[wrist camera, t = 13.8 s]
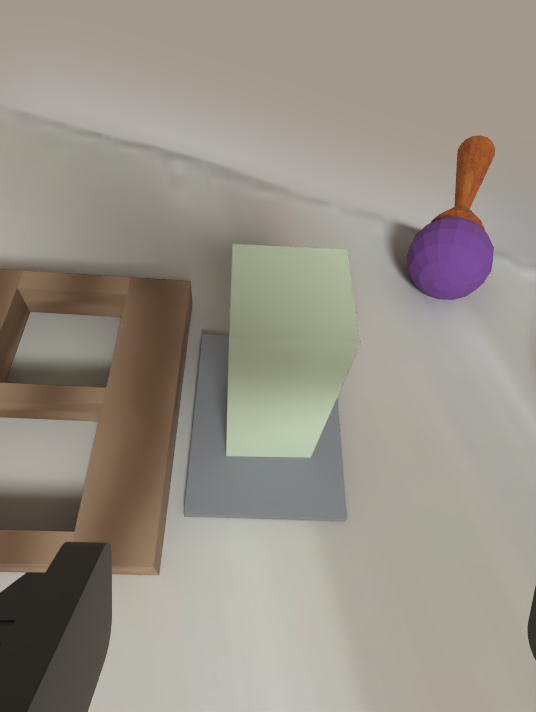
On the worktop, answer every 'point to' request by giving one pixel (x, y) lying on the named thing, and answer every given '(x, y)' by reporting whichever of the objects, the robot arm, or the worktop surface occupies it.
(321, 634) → the worktop surface
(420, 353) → the worktop surface
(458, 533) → the worktop surface
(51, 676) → the robot arm
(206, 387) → the slate mat
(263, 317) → the sage block
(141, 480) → the puzzle board
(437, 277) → the purple maraca
